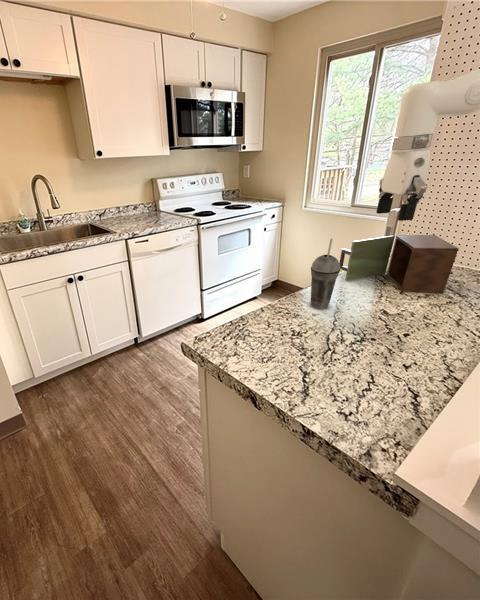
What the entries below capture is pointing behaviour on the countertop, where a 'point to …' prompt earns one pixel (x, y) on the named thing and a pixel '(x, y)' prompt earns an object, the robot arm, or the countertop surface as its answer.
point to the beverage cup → (323, 279)
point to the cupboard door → (367, 257)
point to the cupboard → (421, 263)
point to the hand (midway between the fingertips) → (393, 216)
